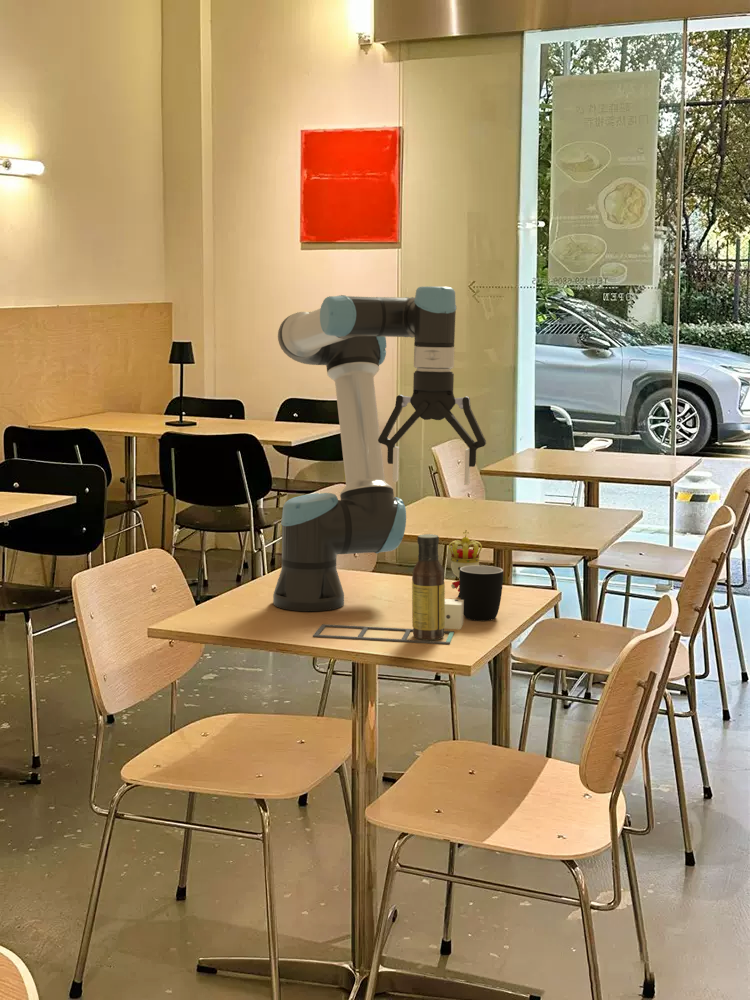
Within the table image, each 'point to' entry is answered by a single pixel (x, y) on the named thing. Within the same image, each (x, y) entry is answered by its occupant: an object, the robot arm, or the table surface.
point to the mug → (480, 591)
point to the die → (454, 613)
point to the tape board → (364, 629)
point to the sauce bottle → (428, 591)
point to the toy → (463, 556)
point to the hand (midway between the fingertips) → (431, 482)
